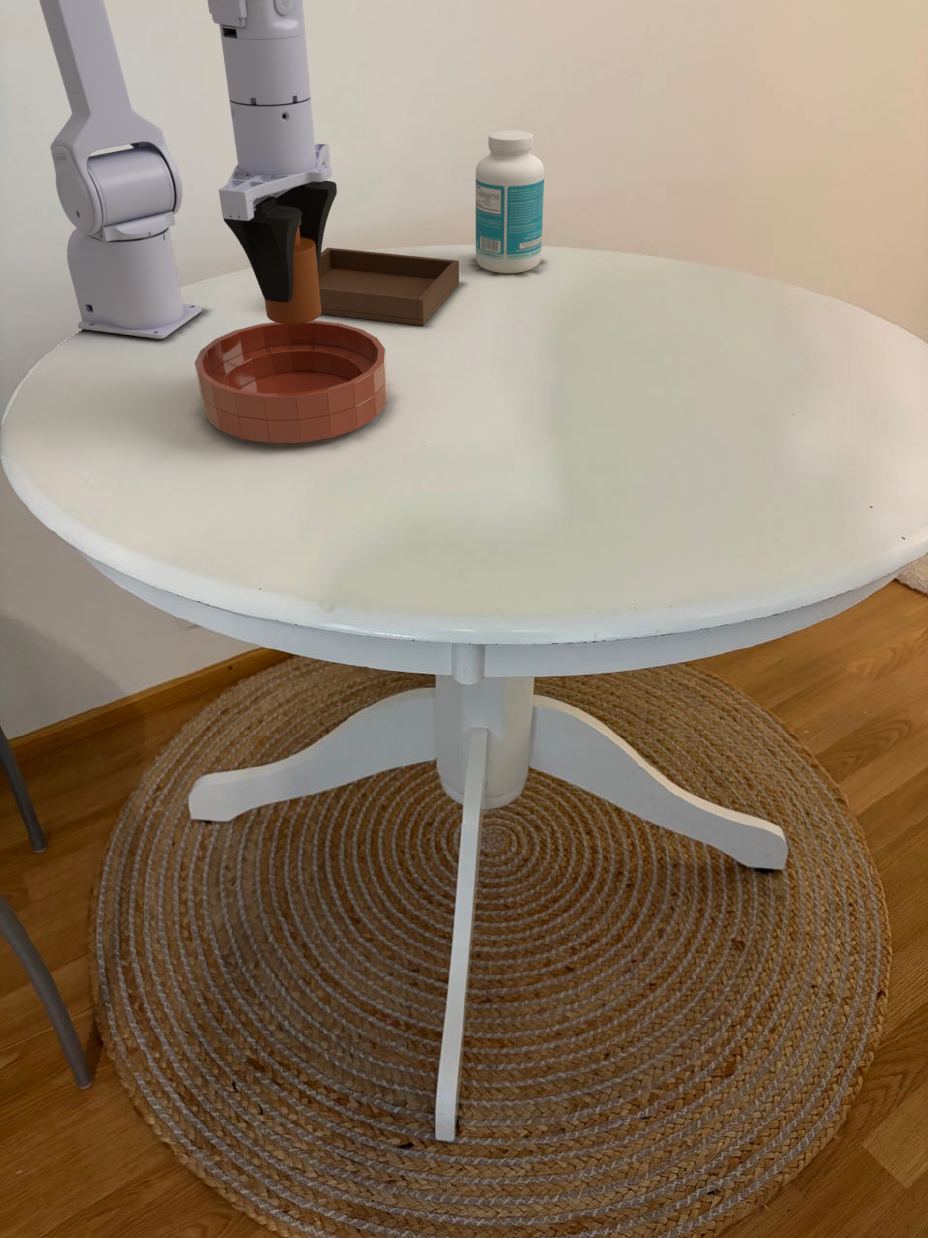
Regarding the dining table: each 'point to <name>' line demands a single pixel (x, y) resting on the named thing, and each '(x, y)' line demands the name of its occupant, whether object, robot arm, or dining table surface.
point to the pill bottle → (509, 204)
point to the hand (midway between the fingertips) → (291, 289)
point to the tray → (384, 285)
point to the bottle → (299, 285)
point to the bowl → (292, 381)
